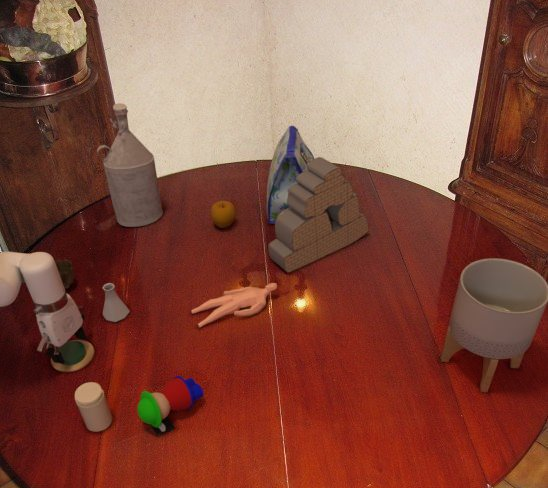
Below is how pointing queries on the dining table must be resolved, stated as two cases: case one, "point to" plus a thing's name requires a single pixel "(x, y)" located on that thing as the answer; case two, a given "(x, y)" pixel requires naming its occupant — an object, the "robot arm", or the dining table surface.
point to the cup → (65, 273)
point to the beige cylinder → (93, 406)
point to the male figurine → (236, 302)
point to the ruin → (317, 217)
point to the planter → (495, 313)
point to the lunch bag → (285, 171)
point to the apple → (223, 213)
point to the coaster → (81, 364)
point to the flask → (113, 305)
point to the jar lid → (72, 352)
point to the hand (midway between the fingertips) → (70, 349)
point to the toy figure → (168, 403)
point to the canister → (131, 176)
